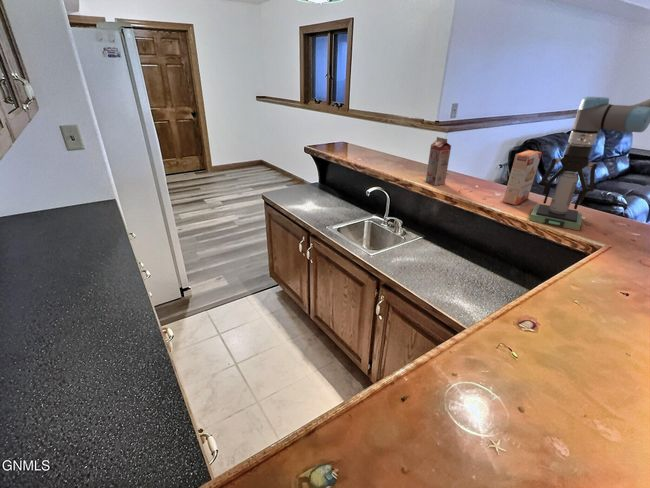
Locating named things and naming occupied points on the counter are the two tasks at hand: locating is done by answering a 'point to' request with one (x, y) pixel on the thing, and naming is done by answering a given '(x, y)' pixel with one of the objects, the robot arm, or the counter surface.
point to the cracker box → (521, 176)
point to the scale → (556, 220)
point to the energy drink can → (564, 192)
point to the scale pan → (568, 216)
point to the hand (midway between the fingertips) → (559, 205)
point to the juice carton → (438, 162)
